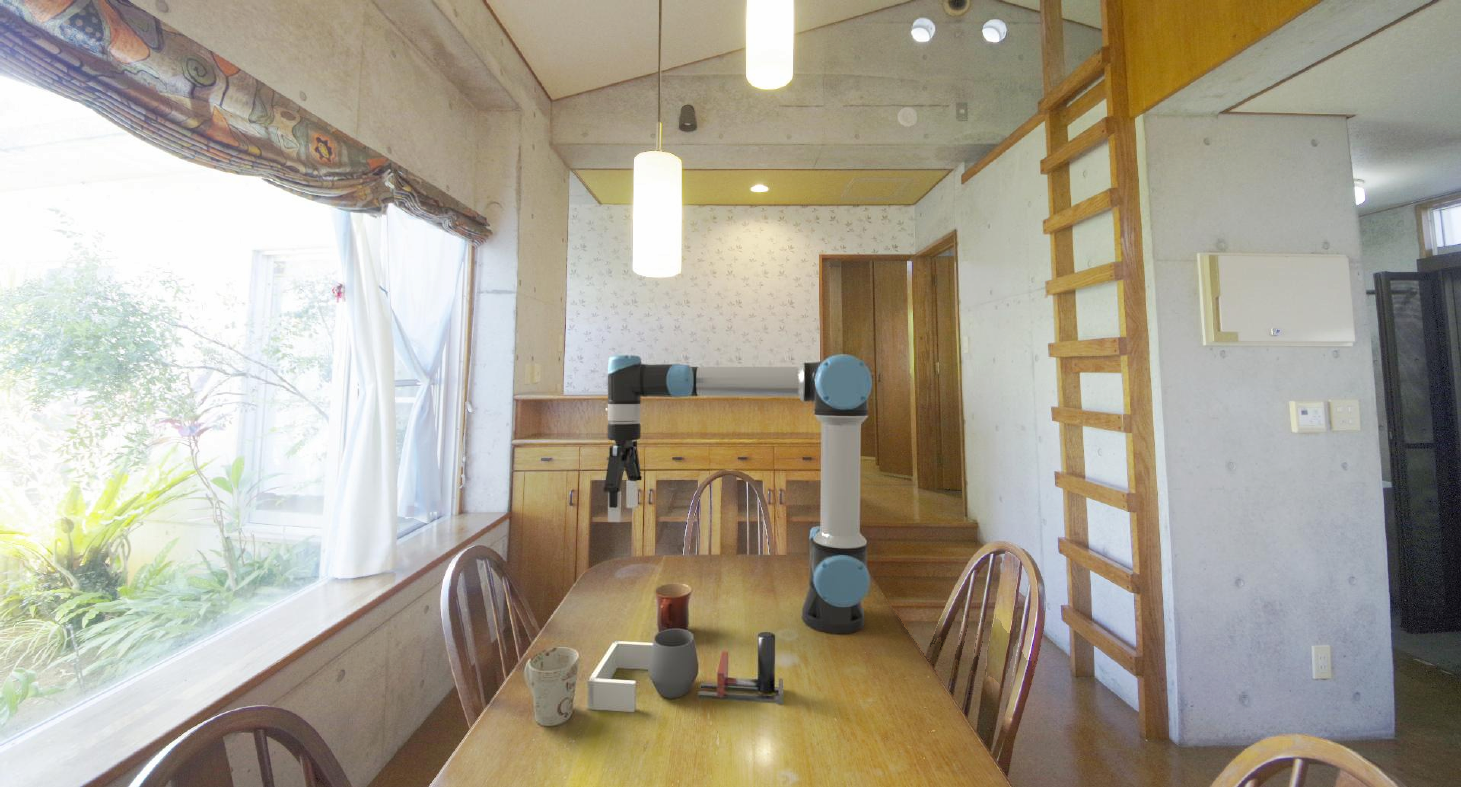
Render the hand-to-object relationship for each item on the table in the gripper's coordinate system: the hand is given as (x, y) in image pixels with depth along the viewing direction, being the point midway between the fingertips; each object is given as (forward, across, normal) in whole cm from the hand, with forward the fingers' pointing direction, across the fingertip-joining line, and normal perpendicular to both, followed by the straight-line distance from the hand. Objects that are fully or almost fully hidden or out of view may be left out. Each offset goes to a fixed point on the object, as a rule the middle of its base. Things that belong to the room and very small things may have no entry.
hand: (623, 514), depth 122 cm
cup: (+28, +21, +16) cm, 38 cm away
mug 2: (+28, 0, +11) cm, 30 cm away
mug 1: (+28, +30, -5) cm, 41 cm away
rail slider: (+27, +21, +30) cm, 45 cm away
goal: (+28, +21, +6) cm, 35 cm away
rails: (+28, +21, +29) cm, 45 cm away
